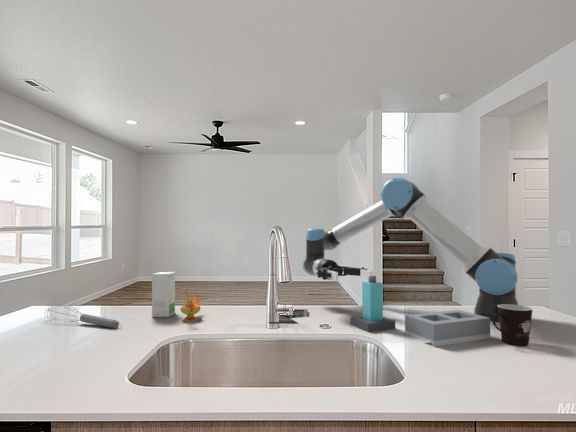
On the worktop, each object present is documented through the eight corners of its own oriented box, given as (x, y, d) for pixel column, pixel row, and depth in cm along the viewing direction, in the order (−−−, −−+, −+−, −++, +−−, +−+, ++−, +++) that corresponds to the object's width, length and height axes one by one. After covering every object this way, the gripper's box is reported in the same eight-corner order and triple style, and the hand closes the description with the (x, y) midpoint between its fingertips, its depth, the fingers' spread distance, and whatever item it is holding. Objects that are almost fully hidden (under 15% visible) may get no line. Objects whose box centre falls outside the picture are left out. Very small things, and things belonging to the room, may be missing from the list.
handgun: (273, 313, 151) (268, 324, 133) (273, 307, 151) (268, 318, 133) (307, 313, 150) (307, 325, 132) (307, 308, 150) (307, 319, 132)
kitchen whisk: (114, 331, 122) (114, 311, 122) (39, 322, 135) (39, 304, 135) (128, 327, 128) (129, 307, 128) (55, 318, 140) (55, 301, 141)
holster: (376, 324, 131) (376, 314, 131) (395, 332, 121) (395, 320, 122) (350, 327, 127) (350, 316, 127) (367, 335, 118) (367, 323, 118)
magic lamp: (206, 312, 148) (207, 283, 149) (194, 324, 130) (195, 291, 131) (188, 312, 149) (189, 283, 149) (174, 324, 131) (174, 291, 131)
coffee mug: (523, 339, 114) (523, 304, 115) (539, 348, 106) (538, 310, 106) (481, 337, 115) (481, 303, 116) (494, 346, 107) (493, 309, 107)
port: (458, 328, 126) (458, 309, 126) (490, 338, 115) (490, 317, 115) (405, 335, 118) (405, 315, 118) (433, 346, 107) (433, 324, 107)
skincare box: (168, 317, 140) (168, 274, 141) (150, 317, 140) (150, 274, 141) (175, 312, 149) (175, 271, 149) (158, 312, 149) (158, 271, 149)
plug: (374, 324, 127) (374, 274, 128) (382, 327, 123) (382, 276, 123) (362, 325, 126) (362, 275, 126) (370, 329, 121) (370, 277, 122)
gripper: (353, 277, 158) (384, 285, 139) (296, 279, 149) (321, 288, 129) (353, 258, 158) (385, 264, 139) (296, 259, 149) (322, 265, 129)
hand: (354, 275), depth 134 cm, fingers open, 13 cm apart
